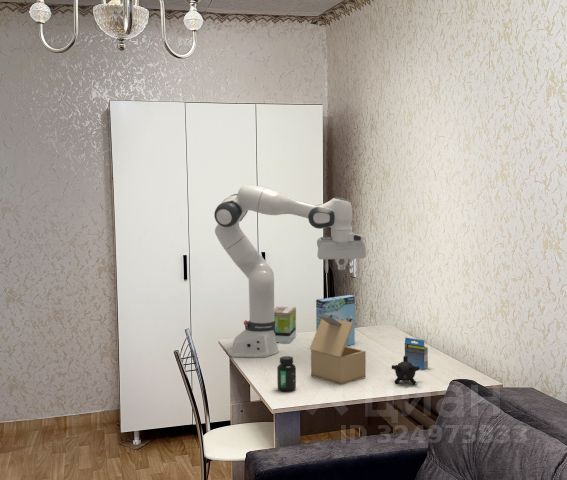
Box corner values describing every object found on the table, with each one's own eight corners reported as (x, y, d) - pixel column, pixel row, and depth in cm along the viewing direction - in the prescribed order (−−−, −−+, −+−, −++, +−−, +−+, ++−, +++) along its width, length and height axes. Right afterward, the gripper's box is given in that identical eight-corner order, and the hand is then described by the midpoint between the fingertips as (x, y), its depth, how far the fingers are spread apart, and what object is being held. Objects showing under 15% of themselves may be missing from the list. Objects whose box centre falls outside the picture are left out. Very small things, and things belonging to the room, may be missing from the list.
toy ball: (384, 378, 266) (386, 362, 277) (404, 397, 267) (405, 379, 278) (405, 362, 262) (405, 346, 273) (425, 380, 263) (425, 364, 274)
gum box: (348, 342, 334) (348, 294, 332) (355, 344, 330) (355, 295, 327) (315, 349, 323) (315, 299, 320) (322, 351, 318) (322, 300, 316)
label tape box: (428, 367, 291) (428, 338, 290) (424, 370, 288) (424, 340, 286) (408, 364, 296) (408, 335, 295) (404, 366, 293) (404, 337, 291)
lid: (324, 317, 284) (310, 308, 278) (354, 323, 272) (340, 314, 266) (311, 349, 280) (296, 341, 274) (340, 357, 268) (326, 348, 263)
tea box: (290, 343, 333) (290, 312, 332) (269, 342, 335) (269, 311, 334) (296, 336, 348) (296, 306, 346) (276, 335, 350) (275, 305, 348)
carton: (335, 368, 290) (335, 343, 289) (365, 377, 279) (365, 351, 277) (311, 375, 281) (311, 350, 280) (340, 384, 269) (340, 357, 268)
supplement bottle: (284, 393, 260) (284, 361, 258) (273, 388, 265) (273, 357, 264) (299, 389, 264) (299, 358, 262) (288, 385, 269) (288, 354, 268)
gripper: (318, 237, 293) (318, 271, 294) (367, 236, 295) (367, 269, 296) (315, 236, 299) (315, 269, 300) (363, 235, 301) (363, 267, 303)
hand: (341, 269), depth 298 cm, fingers closed
